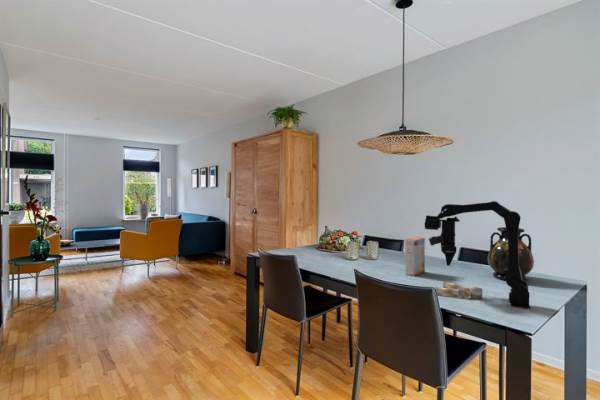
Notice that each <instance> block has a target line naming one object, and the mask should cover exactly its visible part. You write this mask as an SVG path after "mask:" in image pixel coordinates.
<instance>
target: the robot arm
mask: <svg viewBox="0 0 600 400" xmlns="http://www.w3.org/2000/svg"><path fill="white" fill-rule="evenodd" d="M485 211H493V212H494V213H496V215H498V216H499V217H501V218H503V221H504V225H505V227H506V229H507V233H508V258H509V266H508V268H505V269H504V274H505V278H504V280H503V281H505V284H506V285H507V286H508V287H510V288H509V289H510V292H508V303H509V304H510V306H511V307H516V308H522V309H531V306H530V292H529V284H528V283H527V282H526V281H523V280H522V274H521V270H520V267H519V253H518V229H519V228H520V224H521V217H522V216H521V215H520V213H518V211H515V210H510V209H508V208H506V206H504V205H502V204H500V202H498V201H495V200H493V201H488V202H487V201H486V202H479V203H469V204H453V203H452V204H450V203H449V204H448V203H447V204H444V205H443V206H441V209H440V212H439V213H438V214H437V215H426V216H425V221H424V229H425V230H431V231H432V230H433V231H439V229H441V233H440V235H436V236H435V235H433V236H431V237H429V238H428V241H429V243H430V246H432V247H433V246H435V245H438V244H440V248H441V249H440V251H441V253H443V254H444V257H445V263H446V265H447V266H450V267H451V264H452V262H453V259H454V258H455V255H456V254H457V246H456V223H458V222H461V220H460V219H459V218H458V217H457V216H458V215H460V214H465V213H475V212H485ZM456 215H457V216H456ZM453 216H454V217H453ZM445 218H446V219H445Z"/></svg>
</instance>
